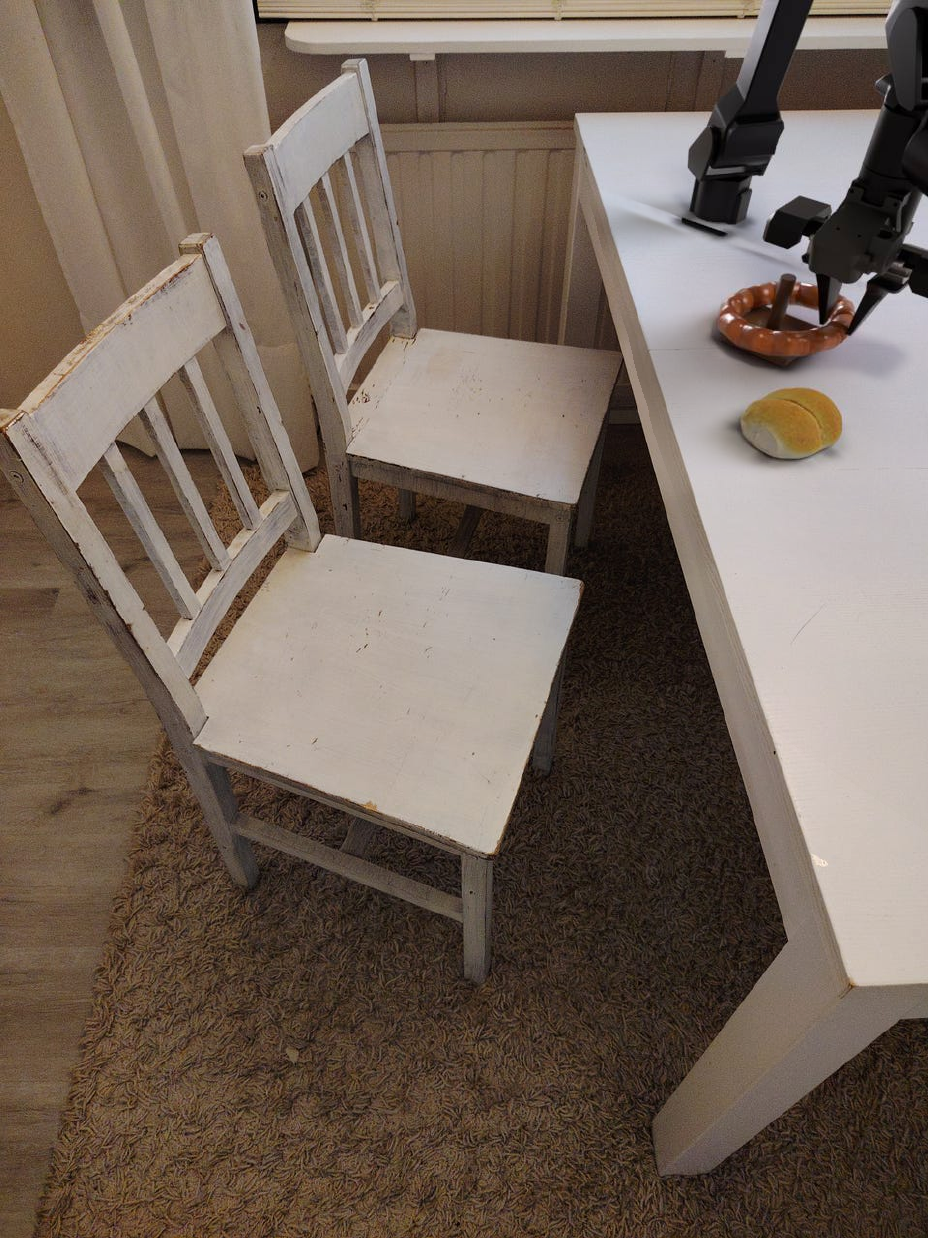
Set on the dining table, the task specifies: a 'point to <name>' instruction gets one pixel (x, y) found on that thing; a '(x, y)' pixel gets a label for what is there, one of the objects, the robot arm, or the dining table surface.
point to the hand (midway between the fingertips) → (836, 328)
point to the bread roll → (792, 423)
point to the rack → (776, 318)
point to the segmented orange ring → (783, 340)
